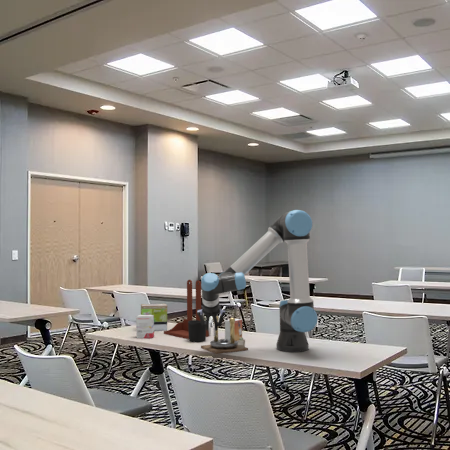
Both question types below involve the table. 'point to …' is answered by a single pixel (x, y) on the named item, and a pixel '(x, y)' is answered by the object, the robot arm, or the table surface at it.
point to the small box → (236, 329)
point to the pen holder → (196, 331)
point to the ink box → (145, 326)
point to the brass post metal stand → (225, 342)
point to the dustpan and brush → (188, 313)
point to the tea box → (156, 315)
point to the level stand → (227, 350)
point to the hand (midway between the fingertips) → (212, 333)
